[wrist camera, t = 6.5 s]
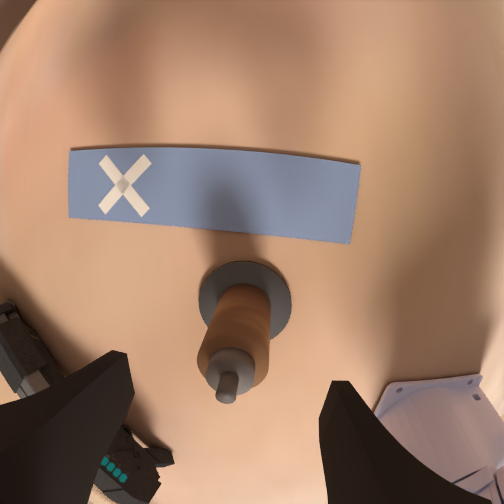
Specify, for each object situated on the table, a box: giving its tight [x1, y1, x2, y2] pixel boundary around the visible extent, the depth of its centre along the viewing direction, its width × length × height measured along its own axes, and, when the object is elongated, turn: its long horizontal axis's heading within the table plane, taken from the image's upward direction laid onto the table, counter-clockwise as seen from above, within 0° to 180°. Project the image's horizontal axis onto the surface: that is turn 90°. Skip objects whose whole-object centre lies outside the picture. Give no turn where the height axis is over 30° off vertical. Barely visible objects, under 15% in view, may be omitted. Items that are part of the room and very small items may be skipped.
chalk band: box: [68, 147, 361, 244], centre depth 14 cm, size 16×4×1 cm, turn 85°
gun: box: [0, 299, 175, 504], centre depth 18 cm, size 4×20×10 cm, turn 42°
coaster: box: [199, 261, 292, 340], centre depth 16 cm, size 5×5×1 cm
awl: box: [197, 283, 271, 404], centre depth 12 cm, size 3×3×7 cm
